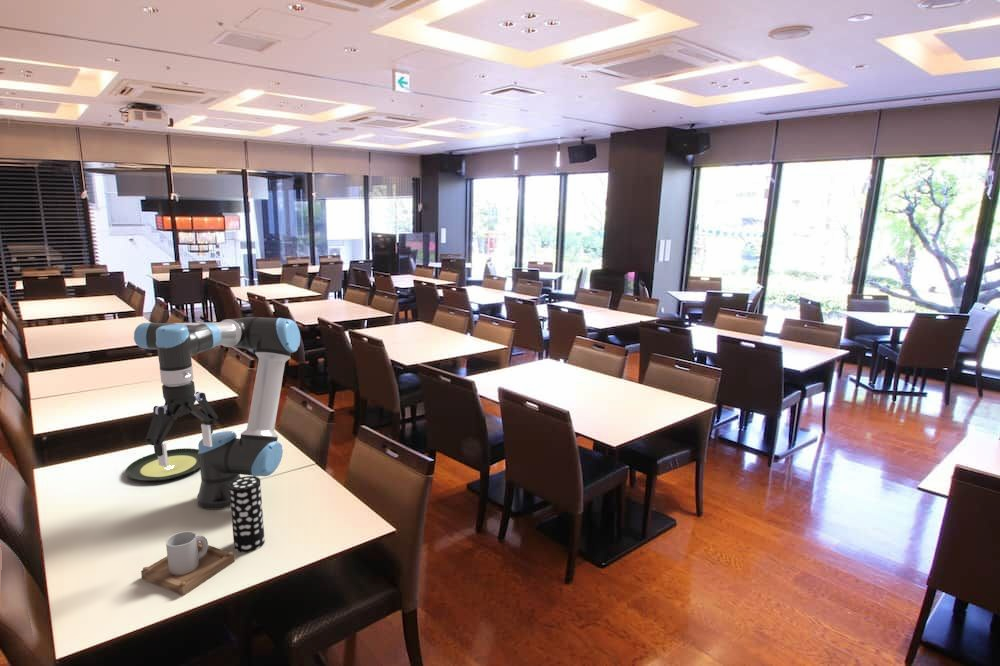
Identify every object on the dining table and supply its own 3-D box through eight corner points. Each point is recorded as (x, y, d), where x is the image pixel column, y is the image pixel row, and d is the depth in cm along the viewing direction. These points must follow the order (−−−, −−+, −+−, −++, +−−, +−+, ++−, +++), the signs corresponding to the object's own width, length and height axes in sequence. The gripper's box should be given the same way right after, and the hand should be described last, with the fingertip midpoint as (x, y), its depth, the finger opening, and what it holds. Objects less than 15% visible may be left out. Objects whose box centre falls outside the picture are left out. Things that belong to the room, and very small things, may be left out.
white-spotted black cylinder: (245, 555, 160) (240, 492, 156) (228, 546, 164) (222, 484, 160) (270, 542, 167) (266, 480, 163) (253, 533, 171) (248, 473, 167)
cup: (165, 567, 152) (162, 538, 150) (205, 552, 159) (202, 524, 157) (173, 579, 147) (170, 549, 145) (213, 564, 154) (211, 535, 152)
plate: (187, 447, 232) (186, 442, 232) (224, 465, 217) (223, 459, 217) (112, 472, 210) (111, 466, 209) (147, 493, 194) (147, 487, 194)
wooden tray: (142, 578, 149) (140, 569, 148) (195, 547, 163) (194, 538, 163) (183, 595, 143) (182, 585, 142) (234, 561, 157) (233, 552, 156)
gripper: (142, 398, 136) (153, 477, 141) (226, 371, 158) (233, 440, 163) (122, 394, 139) (133, 471, 144) (207, 368, 161) (215, 436, 166)
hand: (186, 455), depth 153 cm, fingers open, 13 cm apart
